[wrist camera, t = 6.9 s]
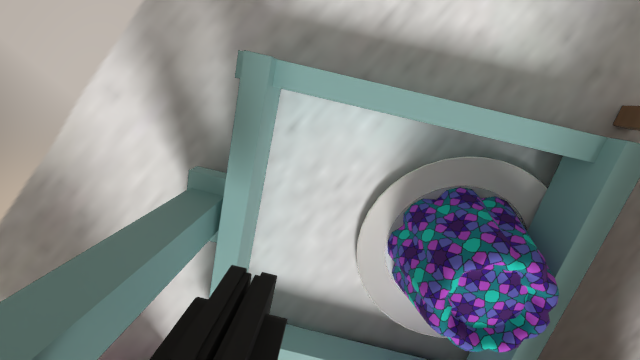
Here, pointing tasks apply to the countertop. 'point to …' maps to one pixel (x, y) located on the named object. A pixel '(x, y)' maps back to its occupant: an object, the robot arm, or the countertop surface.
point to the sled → (243, 207)
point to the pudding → (460, 255)
